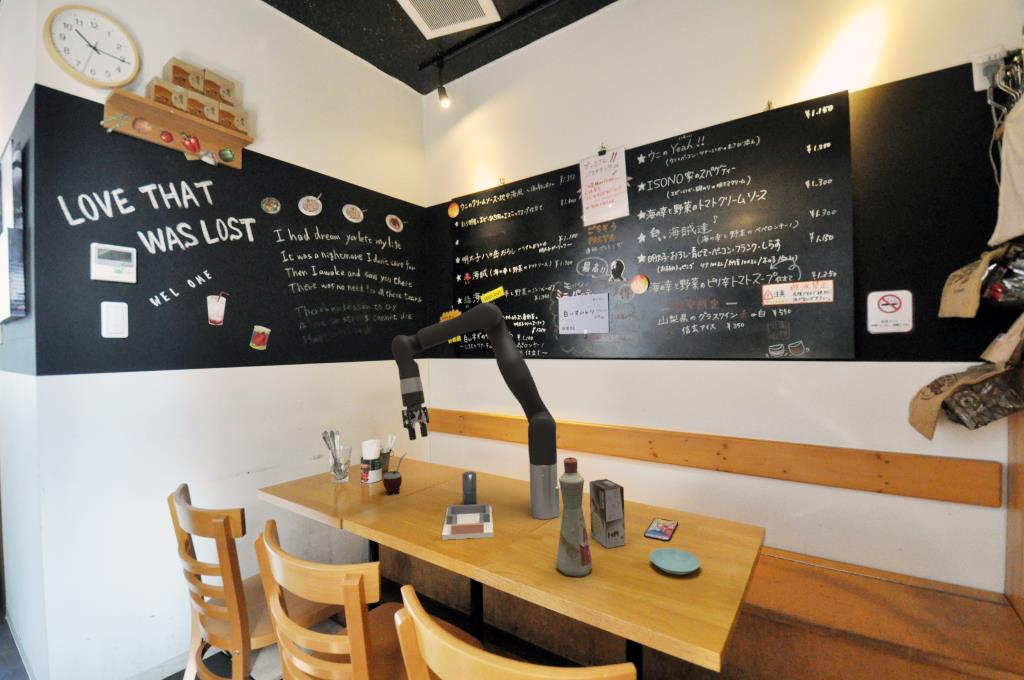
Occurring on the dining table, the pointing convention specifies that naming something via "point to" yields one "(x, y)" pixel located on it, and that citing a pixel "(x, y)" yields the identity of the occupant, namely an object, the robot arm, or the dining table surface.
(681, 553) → the saucer
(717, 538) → the dining table surface
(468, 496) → the metal peg
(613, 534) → the coffee box
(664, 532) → the smartphone
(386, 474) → the mate gourd
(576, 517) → the bottle
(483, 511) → the keyhole guide
